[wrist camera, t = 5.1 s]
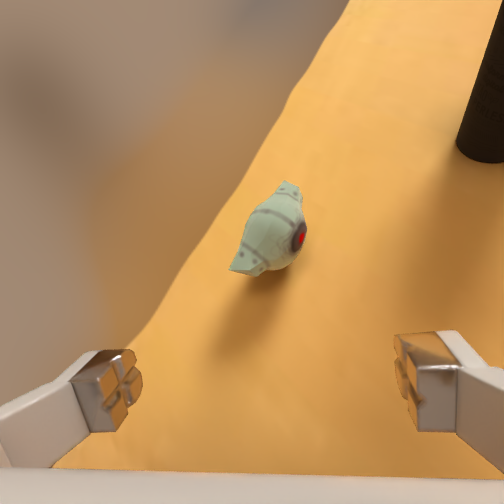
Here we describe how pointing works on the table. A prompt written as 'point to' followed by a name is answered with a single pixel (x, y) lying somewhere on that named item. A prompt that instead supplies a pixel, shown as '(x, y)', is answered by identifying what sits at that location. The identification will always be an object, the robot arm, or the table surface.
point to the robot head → (272, 233)
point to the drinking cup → (486, 104)
